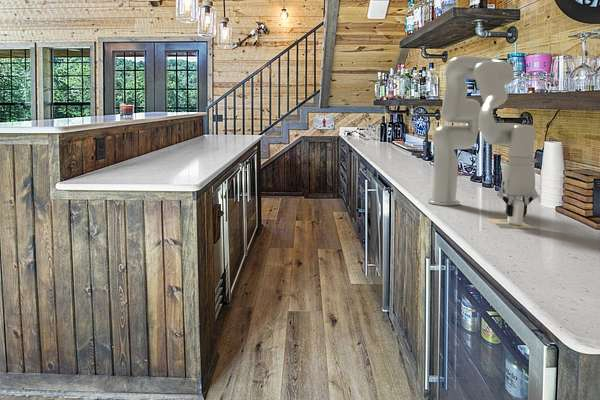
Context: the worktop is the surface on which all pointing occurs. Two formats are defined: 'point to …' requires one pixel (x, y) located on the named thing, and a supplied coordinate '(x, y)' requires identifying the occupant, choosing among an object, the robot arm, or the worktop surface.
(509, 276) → the worktop surface
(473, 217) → the worktop surface
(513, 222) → the eye dropper bottle
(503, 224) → the card
